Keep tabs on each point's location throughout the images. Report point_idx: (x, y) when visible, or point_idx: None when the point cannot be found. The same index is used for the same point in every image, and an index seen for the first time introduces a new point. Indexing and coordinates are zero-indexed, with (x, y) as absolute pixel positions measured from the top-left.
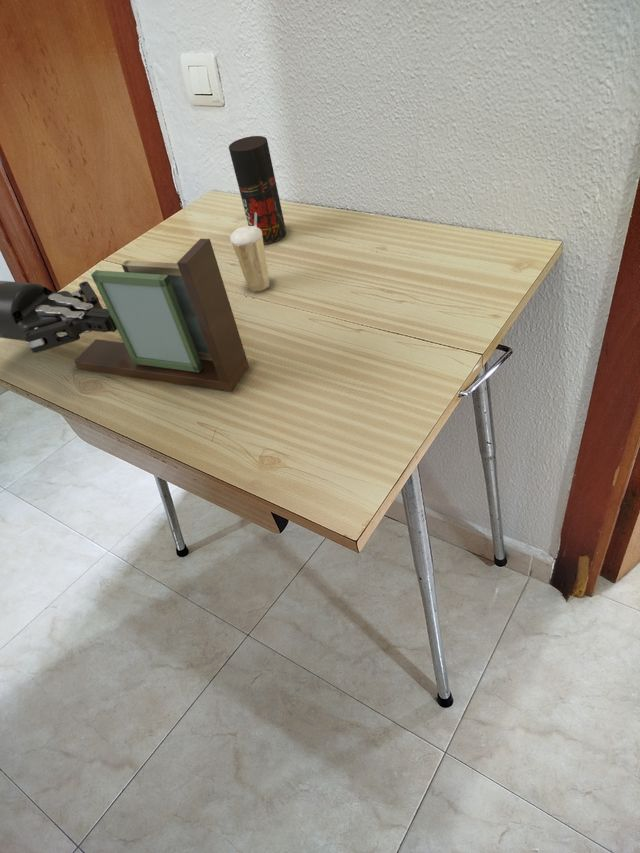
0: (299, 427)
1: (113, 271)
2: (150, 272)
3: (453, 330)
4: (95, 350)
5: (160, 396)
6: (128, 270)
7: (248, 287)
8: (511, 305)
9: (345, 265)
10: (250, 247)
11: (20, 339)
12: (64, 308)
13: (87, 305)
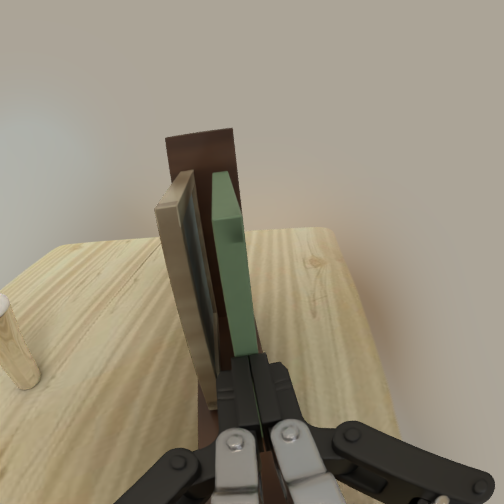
0: (272, 264)
1: (212, 200)
2: (187, 201)
3: (141, 248)
4: None
5: (301, 379)
6: (181, 216)
7: (31, 384)
8: (117, 240)
9: (26, 318)
10: (11, 308)
11: None
12: (300, 494)
13: (235, 439)
